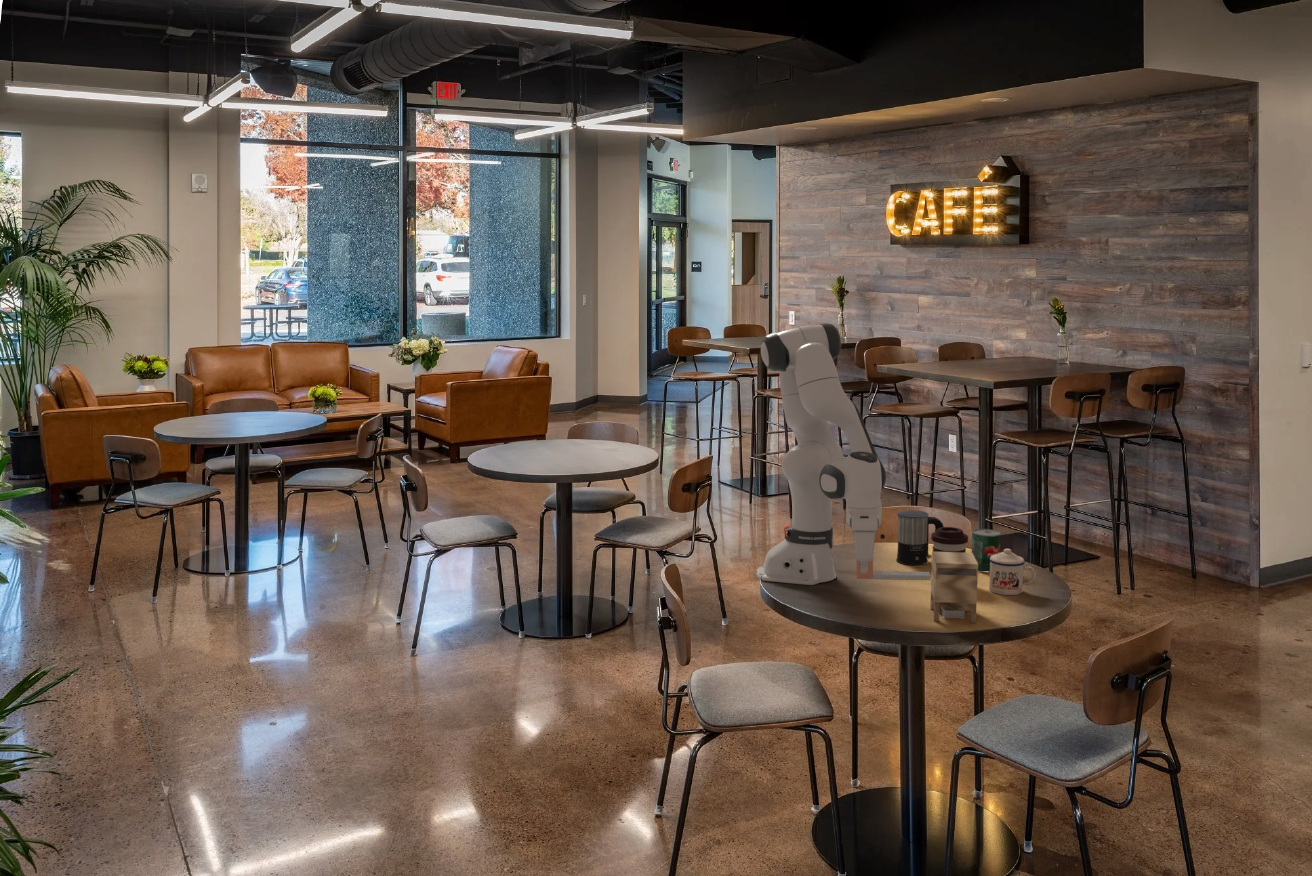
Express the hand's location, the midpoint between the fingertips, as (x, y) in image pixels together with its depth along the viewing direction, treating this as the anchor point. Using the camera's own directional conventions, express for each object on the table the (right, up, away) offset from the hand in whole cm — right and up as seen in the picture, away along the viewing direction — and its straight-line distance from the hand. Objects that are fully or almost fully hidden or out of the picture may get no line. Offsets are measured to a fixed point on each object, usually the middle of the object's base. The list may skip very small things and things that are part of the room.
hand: (863, 570), depth 280 cm
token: (+22, -12, -1) cm, 25 cm away
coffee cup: (+29, -7, +28) cm, 41 cm away
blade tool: (+7, -2, -1) cm, 7 cm away
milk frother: (+24, -3, +53) cm, 59 cm away
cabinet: (+22, -11, -1) cm, 25 cm away
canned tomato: (+43, -5, +41) cm, 60 cm away
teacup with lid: (+44, -8, +19) cm, 48 cm away
